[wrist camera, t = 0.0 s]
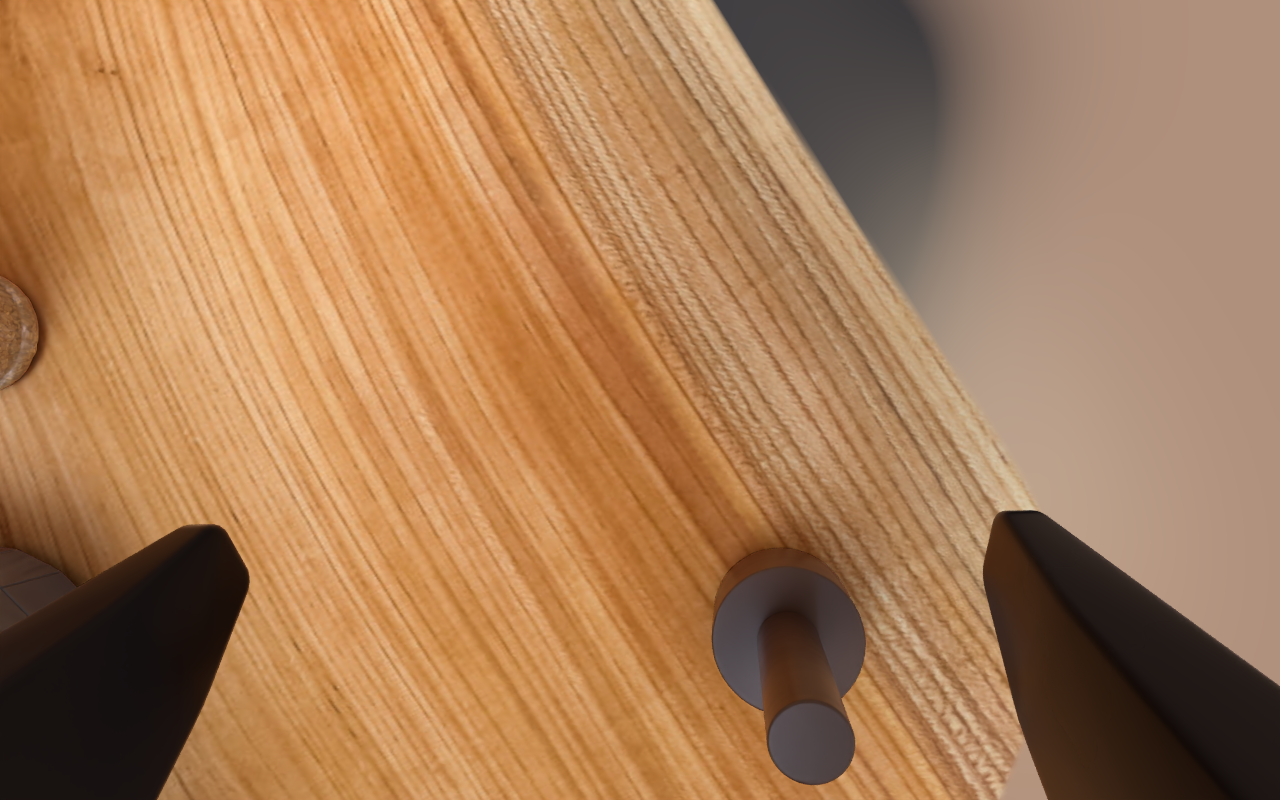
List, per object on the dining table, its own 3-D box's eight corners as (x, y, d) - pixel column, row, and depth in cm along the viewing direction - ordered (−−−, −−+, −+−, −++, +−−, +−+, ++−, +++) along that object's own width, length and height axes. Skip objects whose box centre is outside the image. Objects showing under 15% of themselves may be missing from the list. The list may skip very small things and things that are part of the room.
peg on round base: (877, 642, 23) (964, 790, 14) (757, 706, 23) (773, 884, 15) (805, 522, 23) (849, 599, 15) (688, 588, 24) (665, 699, 15)
